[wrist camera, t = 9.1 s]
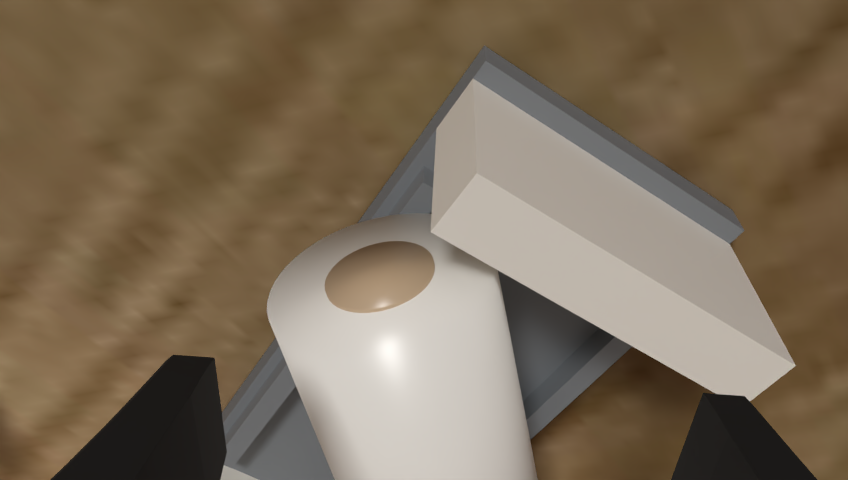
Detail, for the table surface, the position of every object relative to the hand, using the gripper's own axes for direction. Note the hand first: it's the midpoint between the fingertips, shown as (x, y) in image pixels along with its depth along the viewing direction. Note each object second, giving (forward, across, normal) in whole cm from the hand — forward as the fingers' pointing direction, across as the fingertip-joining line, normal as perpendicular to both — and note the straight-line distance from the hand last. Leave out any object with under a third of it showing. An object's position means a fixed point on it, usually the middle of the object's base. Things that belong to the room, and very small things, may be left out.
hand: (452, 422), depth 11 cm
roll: (+5, 0, +7) cm, 9 cm away
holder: (+9, 0, +7) cm, 12 cm away
